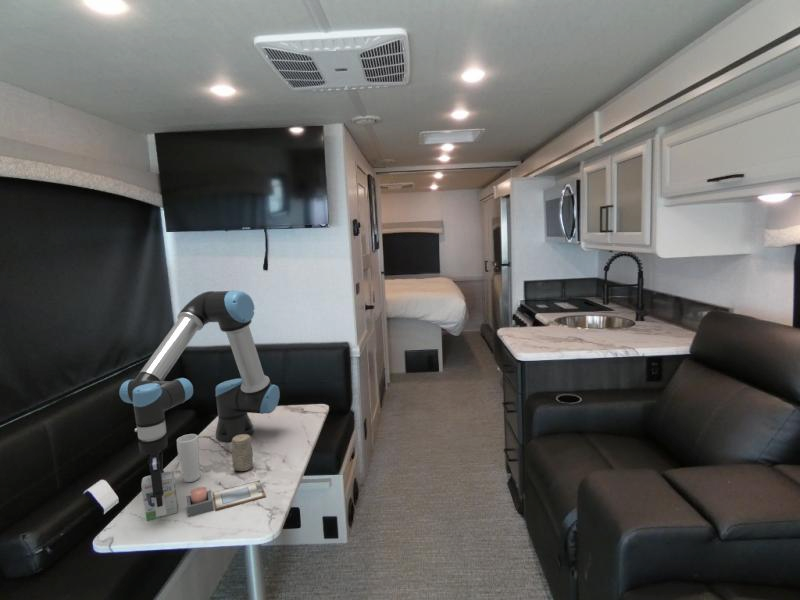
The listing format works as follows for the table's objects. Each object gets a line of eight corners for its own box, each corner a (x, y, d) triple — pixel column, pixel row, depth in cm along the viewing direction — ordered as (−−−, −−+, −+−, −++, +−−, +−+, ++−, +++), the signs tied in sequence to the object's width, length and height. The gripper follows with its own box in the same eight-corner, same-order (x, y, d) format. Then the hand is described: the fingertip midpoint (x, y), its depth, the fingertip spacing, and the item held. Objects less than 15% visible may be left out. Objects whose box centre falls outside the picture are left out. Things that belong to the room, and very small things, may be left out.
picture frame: (212, 494, 152) (212, 490, 152) (259, 481, 158) (259, 478, 158) (215, 511, 142) (215, 507, 142) (265, 497, 148) (265, 493, 148)
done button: (191, 501, 145) (190, 489, 145) (206, 497, 147) (205, 485, 146) (192, 508, 141) (190, 496, 141) (207, 504, 143) (206, 492, 142)
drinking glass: (206, 475, 164) (202, 434, 162) (192, 485, 158) (187, 443, 156) (191, 473, 167) (186, 432, 165) (176, 482, 160) (171, 441, 158)
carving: (258, 465, 170) (255, 433, 168) (243, 475, 163) (239, 442, 162) (244, 462, 173) (241, 431, 171) (229, 472, 166) (226, 440, 164)
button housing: (187, 505, 146) (186, 496, 145) (211, 499, 149) (210, 490, 148) (188, 516, 140) (187, 507, 139) (213, 510, 143) (212, 500, 142)
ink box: (178, 505, 146) (173, 469, 145) (177, 513, 142) (173, 476, 140) (147, 512, 143) (142, 476, 142) (145, 521, 138) (140, 484, 137)
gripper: (140, 426, 147) (149, 494, 150) (135, 453, 128) (146, 530, 131) (166, 421, 150) (174, 487, 153) (166, 447, 131) (175, 521, 134)
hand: (161, 507), depth 142 cm, fingers open, 9 cm apart
